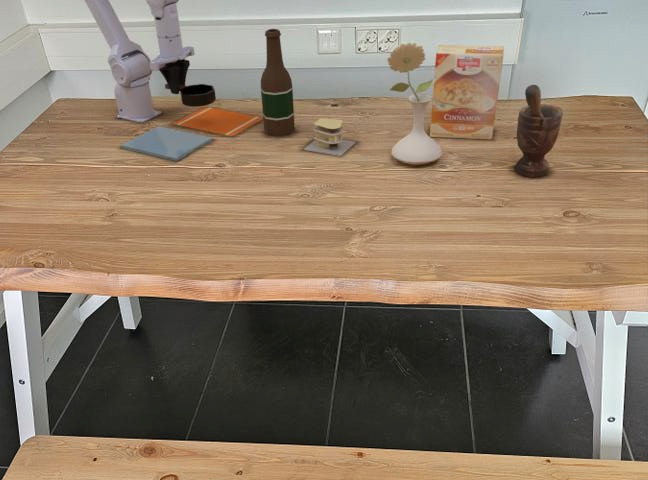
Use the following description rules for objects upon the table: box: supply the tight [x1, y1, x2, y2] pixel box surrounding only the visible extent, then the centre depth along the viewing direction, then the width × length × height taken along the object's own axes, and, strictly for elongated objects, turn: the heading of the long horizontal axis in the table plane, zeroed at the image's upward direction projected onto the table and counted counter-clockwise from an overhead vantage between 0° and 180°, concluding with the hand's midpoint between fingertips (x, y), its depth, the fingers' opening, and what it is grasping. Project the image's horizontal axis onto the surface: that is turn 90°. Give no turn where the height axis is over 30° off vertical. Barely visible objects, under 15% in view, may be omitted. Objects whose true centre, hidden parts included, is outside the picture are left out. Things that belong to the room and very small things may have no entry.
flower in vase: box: [387, 42, 443, 165], centre depth 149 cm, size 13×11×25 cm
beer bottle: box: [260, 28, 295, 138], centre depth 165 cm, size 8×8×24 cm
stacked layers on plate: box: [303, 117, 357, 157], centre depth 163 cm, size 10×9×6 cm
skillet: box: [164, 83, 217, 108], centre depth 173 cm, size 14×8×3 cm, turn 58°
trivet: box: [120, 125, 214, 162], centre depth 170 cm, size 18×14×1 cm
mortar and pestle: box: [513, 84, 564, 178], centre depth 141 cm, size 12×9×20 cm
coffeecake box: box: [429, 44, 505, 141], centre depth 161 cm, size 15×7×20 cm, turn 76°
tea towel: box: [172, 106, 263, 137], centre depth 181 cm, size 20×14×1 cm
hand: (178, 92), depth 174 cm, fingers closed on skillet, 2 cm apart
